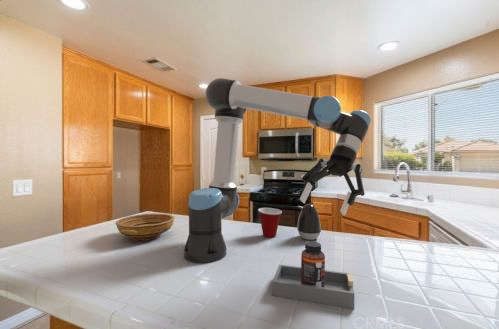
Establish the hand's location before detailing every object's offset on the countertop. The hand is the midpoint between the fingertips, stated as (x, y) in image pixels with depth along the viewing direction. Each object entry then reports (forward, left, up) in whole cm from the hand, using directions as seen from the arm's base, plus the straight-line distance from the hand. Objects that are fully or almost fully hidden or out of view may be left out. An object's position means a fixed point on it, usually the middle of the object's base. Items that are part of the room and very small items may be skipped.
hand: (320, 207), depth 73 cm
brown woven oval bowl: (-75, +13, -20) cm, 79 cm away
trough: (-2, -12, -20) cm, 23 cm away
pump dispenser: (-5, +32, -20) cm, 38 cm away
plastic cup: (-22, +30, -20) cm, 42 cm away
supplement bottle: (-2, -13, -19) cm, 23 cm away
